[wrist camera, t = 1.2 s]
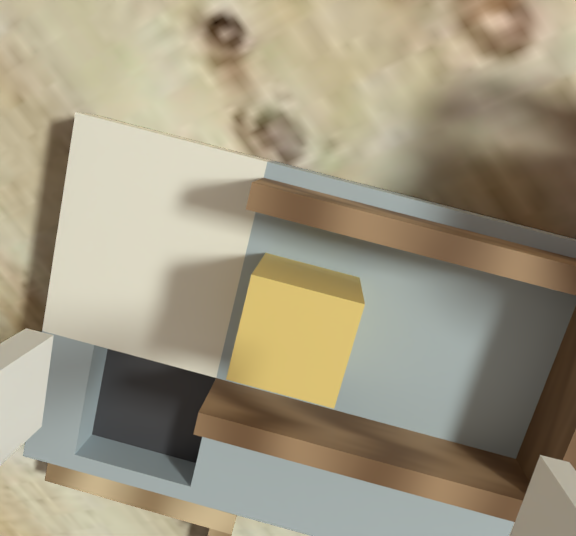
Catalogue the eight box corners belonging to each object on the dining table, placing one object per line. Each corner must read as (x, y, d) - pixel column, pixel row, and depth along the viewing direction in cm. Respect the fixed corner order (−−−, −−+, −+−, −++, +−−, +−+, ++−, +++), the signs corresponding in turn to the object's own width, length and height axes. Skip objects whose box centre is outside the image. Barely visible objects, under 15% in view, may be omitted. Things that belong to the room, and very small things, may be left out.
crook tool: (46, 519, 36) (35, 533, 34) (59, 448, 35) (48, 461, 33) (221, 570, 35) (217, 587, 34) (240, 500, 34) (236, 515, 33)
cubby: (211, 397, 30) (193, 434, 26) (263, 177, 27) (251, 182, 23) (529, 483, 30) (559, 534, 26) (616, 269, 27) (664, 289, 23)
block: (244, 341, 29) (225, 379, 24) (265, 252, 28) (251, 274, 23) (334, 365, 29) (334, 408, 24) (359, 277, 28) (364, 304, 23)
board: (45, 434, 34) (23, 456, 32) (96, 115, 30) (75, 112, 27) (477, 553, 34) (489, 584, 31) (598, 244, 29) (622, 253, 27)
